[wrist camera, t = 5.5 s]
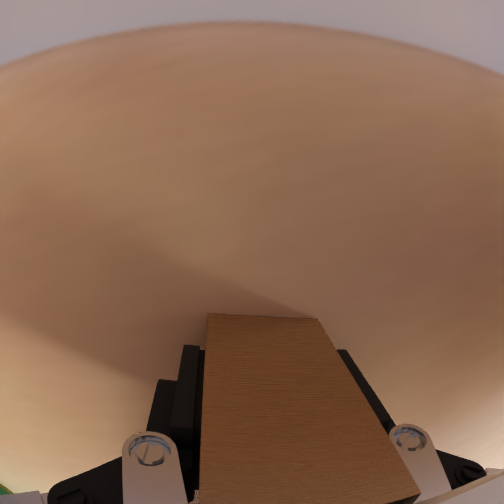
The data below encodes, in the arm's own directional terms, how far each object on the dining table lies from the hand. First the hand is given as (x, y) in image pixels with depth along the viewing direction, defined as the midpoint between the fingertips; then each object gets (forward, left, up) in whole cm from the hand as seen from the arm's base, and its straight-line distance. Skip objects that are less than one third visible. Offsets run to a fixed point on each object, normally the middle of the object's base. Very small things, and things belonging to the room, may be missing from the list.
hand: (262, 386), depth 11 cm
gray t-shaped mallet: (0, +10, -1) cm, 10 cm away
